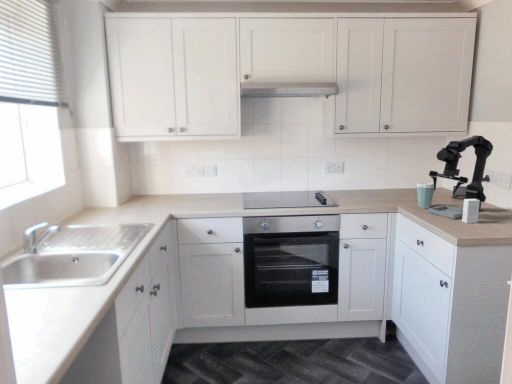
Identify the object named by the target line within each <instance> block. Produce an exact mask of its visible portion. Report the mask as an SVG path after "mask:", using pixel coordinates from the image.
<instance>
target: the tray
mask: <svg viewBox="0 0 512 384" xmlns="http://www.w3.org/2000/svg"><path fill="white" fill-rule="evenodd" d="M426 212H427V214H431V215H434V216H439V217H442V218H447V219H450V220H457V219H462V216H463V208H459V207H456V206H450V205H447V204H445V205H439V206H434V207H430V208H427V211H426Z"/></svg>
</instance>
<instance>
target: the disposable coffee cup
mask: <svg viewBox="0 0 512 384" xmlns="http://www.w3.org/2000/svg"><path fill="white" fill-rule="evenodd" d="M434 193H435V191H434V182H418V183H417V184H416V194H417V195H416V197H417V206H418V208H421V209H428V208H431V207H432V201H433V198H434Z"/></svg>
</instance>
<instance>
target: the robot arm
mask: <svg viewBox="0 0 512 384" xmlns="http://www.w3.org/2000/svg"><path fill="white" fill-rule="evenodd" d="M468 147H469V148H470V147H472V148H473V149H474V154H475V156H476V160H475V163H474V169H473V174H472V180H471V182H470V183H469V184H468V182H469V178H468V177H467V176H461V175H460V172H461V169H459V168H457V167H458V165H459V160H460V159H462V158H463V156H462V155H461V153H462V152H465V151H466V149H467V148H468ZM493 150H494V145H493V143H492V142H491V141H490V140H488V139H486V138H485V137H484V136H482V135H477V134H476V135H472V136H471V137H467V138H464V139H461V140H451V141H449V142H448V144H447V145H446V147H442V148H441V150H439V151H437V153H436V159H437V160H438V161H440V162H444V163H445V164H444V167H443V171H442V173H439V172H438V171H435V170H430V171H429V173H428V177H430V178H431V179H432V181H433V182H432V183H434V192H435V191H436V187H437V181H438V179H437V177H439V178H443V179H448V180H453V181H458V182H457V183H456V185H455V188H454V190H453V192H452V195H453V196H454V195H455V193H456V192H457V190H458V189H459V188H460V187H461V186H462V185H465V184H467V185H466V188H465V189H466V190H465V199H477V200H480V203H479V212H483V211H484V210H483V209H482V208H481V207H482V203H483V202H485V201H487V200H486V199H487V196H486V194H485V193H484V190H485V189H484V186H483V177H484V172H485V168H486V163H487V159H488V158H489V157H490V155H491V154H492V152H493ZM459 175H460V176H459Z"/></svg>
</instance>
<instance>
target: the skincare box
mask: <svg viewBox="0 0 512 384" xmlns="http://www.w3.org/2000/svg"><path fill="white" fill-rule="evenodd" d="M479 203H480V200H477V199H466V198H464V199H463V207H462V209H463V216H462V218H461V221H462V222H463V223H464V224H465V223H466V224H474V223H476V224H477V223H479V222H478V221H479V212H480V211H479Z"/></svg>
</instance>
